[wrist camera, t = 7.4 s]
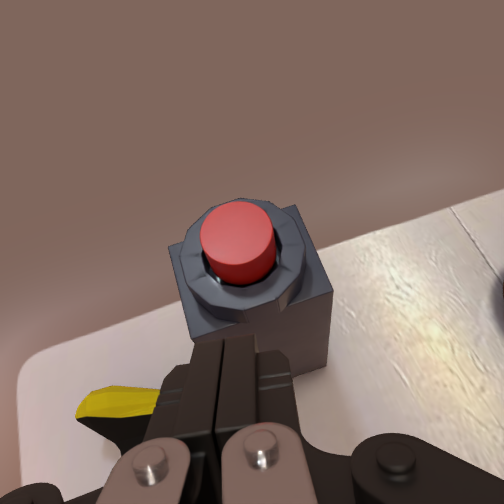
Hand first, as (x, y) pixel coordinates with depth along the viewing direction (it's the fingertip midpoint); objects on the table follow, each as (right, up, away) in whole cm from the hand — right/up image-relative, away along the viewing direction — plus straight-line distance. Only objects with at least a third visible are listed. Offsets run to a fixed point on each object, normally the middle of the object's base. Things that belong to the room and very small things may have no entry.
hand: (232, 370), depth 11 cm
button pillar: (+2, -5, +28) cm, 28 cm away
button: (0, +3, +13) cm, 13 cm away
